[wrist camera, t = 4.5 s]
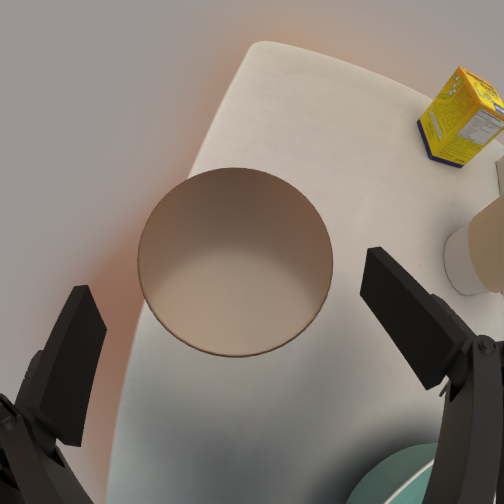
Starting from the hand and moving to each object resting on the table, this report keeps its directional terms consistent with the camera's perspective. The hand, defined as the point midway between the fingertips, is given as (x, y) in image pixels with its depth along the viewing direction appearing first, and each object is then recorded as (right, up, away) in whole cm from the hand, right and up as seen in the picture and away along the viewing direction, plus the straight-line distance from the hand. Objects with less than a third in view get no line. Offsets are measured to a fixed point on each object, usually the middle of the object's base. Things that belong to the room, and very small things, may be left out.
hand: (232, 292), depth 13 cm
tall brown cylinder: (-1, -3, +8) cm, 9 cm away
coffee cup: (+23, +1, +11) cm, 26 cm away
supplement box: (+24, +15, +16) cm, 33 cm away
